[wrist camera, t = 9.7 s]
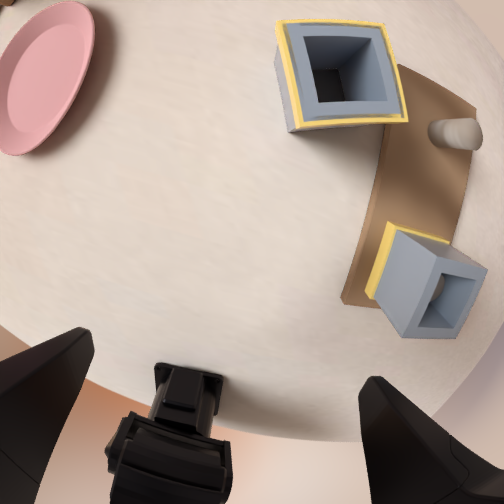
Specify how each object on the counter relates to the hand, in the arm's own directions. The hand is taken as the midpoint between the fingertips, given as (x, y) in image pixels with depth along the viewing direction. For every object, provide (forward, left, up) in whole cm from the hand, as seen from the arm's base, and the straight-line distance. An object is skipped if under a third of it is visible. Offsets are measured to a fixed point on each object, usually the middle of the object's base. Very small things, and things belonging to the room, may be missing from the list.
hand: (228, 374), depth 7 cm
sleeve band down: (+1, -12, -11) cm, 16 cm away
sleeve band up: (+11, -3, -12) cm, 17 cm away
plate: (+12, +20, -12) cm, 26 cm away
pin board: (+6, -12, -12) cm, 18 cm away
